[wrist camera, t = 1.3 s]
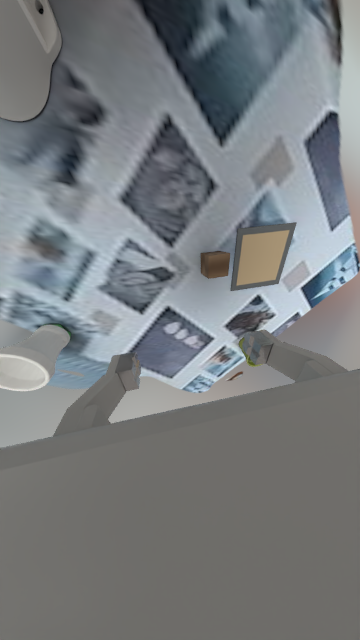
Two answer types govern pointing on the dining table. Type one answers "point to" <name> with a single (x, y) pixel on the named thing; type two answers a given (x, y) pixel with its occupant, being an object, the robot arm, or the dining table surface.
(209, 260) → the walnut block
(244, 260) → the coaster mat
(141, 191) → the dining table surface
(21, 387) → the cup
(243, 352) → the plant pot
